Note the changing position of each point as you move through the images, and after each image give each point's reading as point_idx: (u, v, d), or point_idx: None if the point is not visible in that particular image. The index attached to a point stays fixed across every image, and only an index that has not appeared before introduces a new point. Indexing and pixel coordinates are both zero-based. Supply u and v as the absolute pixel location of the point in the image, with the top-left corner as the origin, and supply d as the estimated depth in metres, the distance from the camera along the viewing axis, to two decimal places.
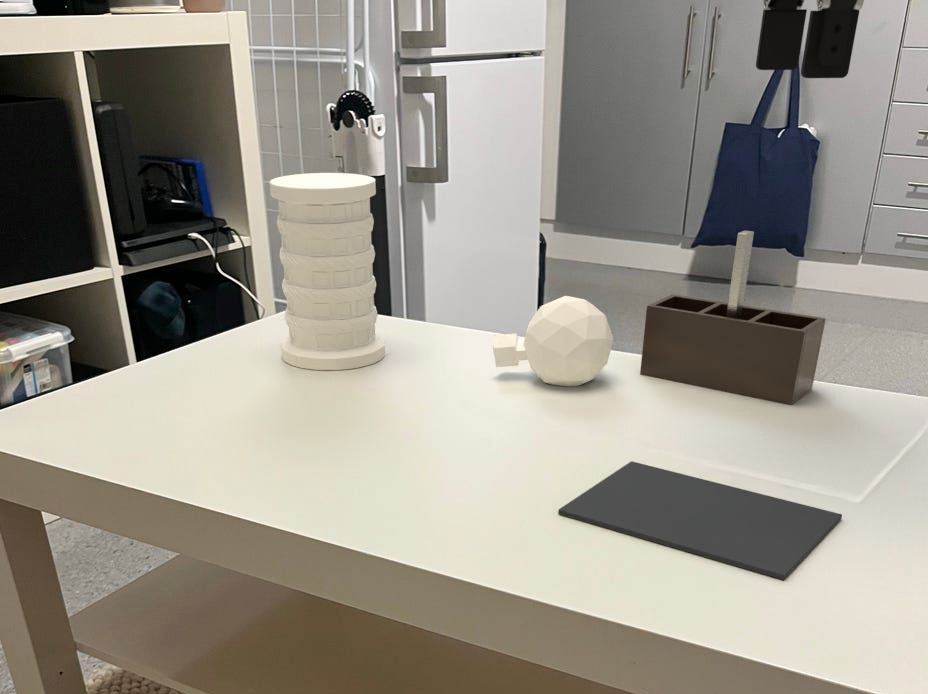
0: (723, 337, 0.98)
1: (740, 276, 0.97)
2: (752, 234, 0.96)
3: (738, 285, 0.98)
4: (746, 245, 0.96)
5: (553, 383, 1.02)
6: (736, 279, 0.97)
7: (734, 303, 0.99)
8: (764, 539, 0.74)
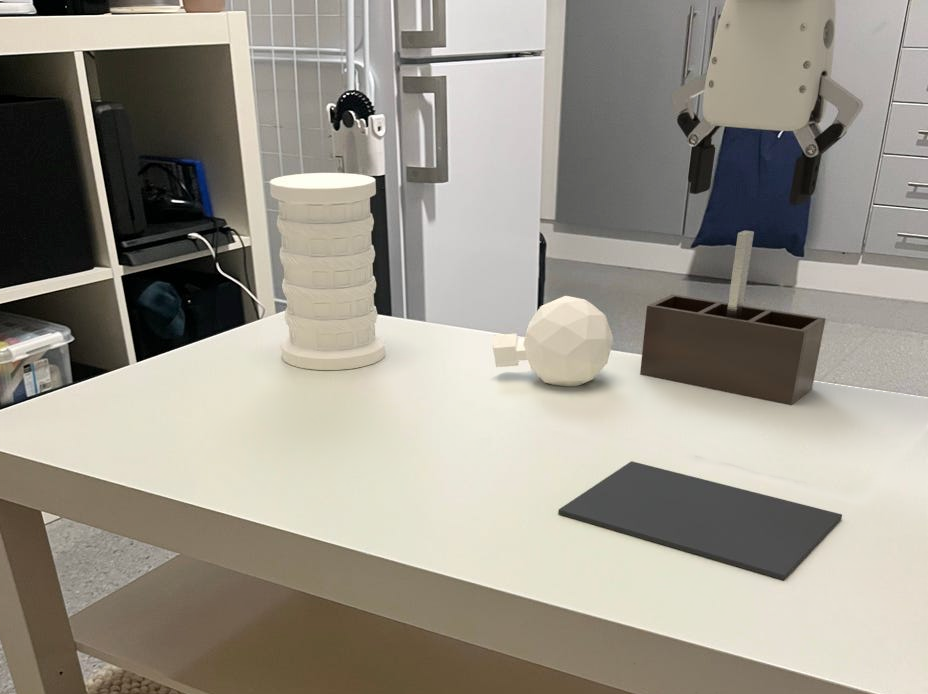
0: (723, 337, 0.98)
1: (740, 276, 0.97)
2: (752, 234, 0.96)
3: (738, 285, 0.98)
4: (746, 245, 0.96)
5: (553, 383, 1.02)
6: (736, 279, 0.97)
7: (734, 303, 0.99)
8: (764, 539, 0.74)
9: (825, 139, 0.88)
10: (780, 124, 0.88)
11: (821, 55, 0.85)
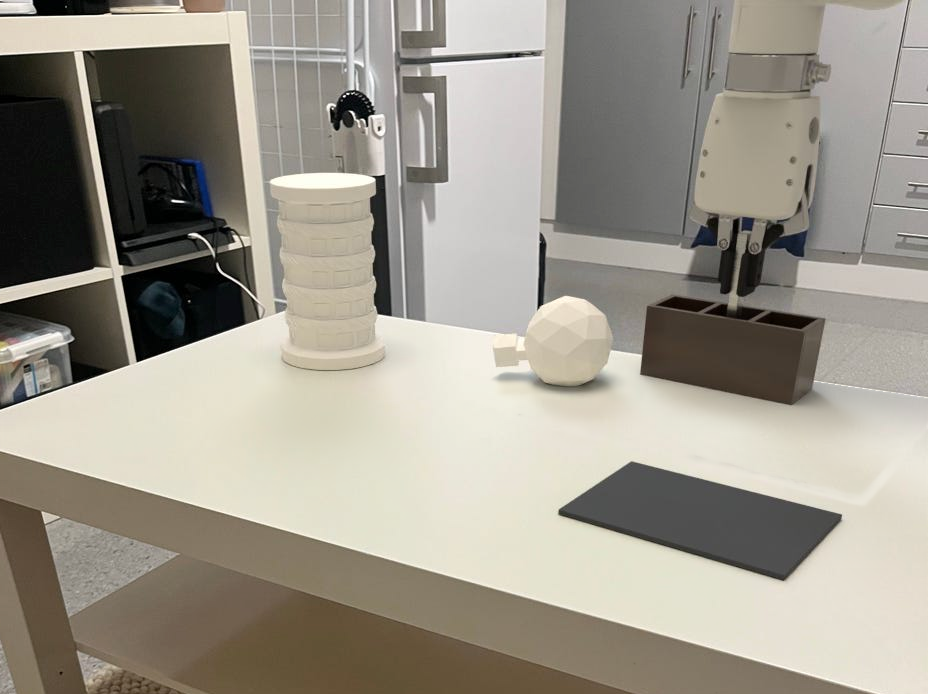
0: (723, 337, 0.98)
1: None
2: None
3: None
4: (746, 245, 0.96)
5: (553, 383, 1.02)
6: (736, 279, 0.97)
7: (734, 303, 0.99)
8: (764, 539, 0.74)
9: (767, 238, 0.94)
10: (769, 214, 0.92)
11: (807, 151, 0.89)
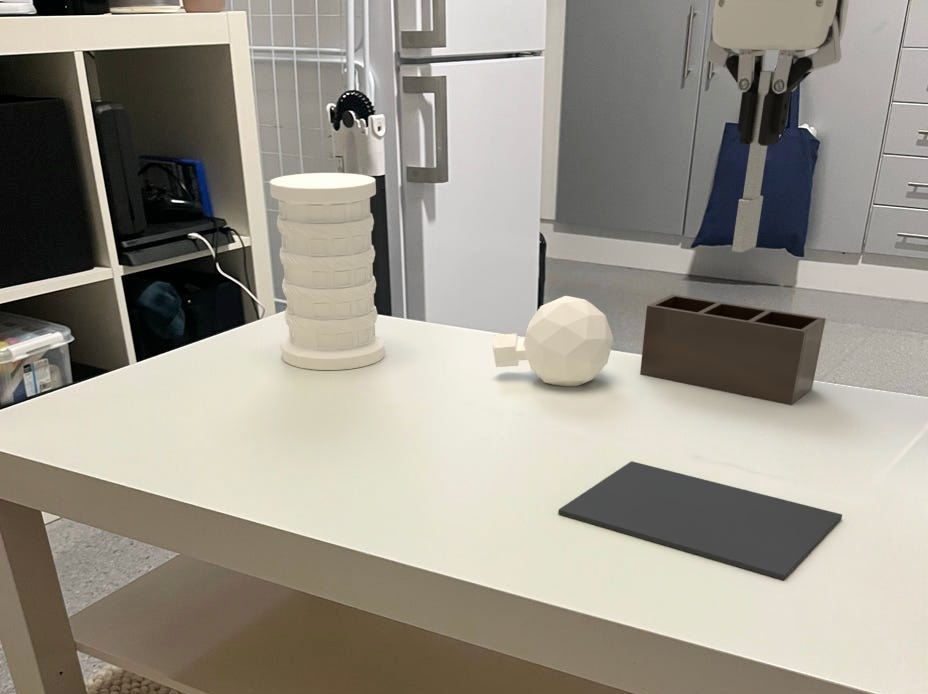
0: (723, 337, 0.98)
1: None
2: None
3: None
4: (769, 85, 0.86)
5: (553, 383, 1.02)
6: (758, 126, 0.88)
7: (755, 154, 0.89)
8: (764, 539, 0.74)
9: (793, 74, 0.84)
10: (796, 43, 0.82)
11: None
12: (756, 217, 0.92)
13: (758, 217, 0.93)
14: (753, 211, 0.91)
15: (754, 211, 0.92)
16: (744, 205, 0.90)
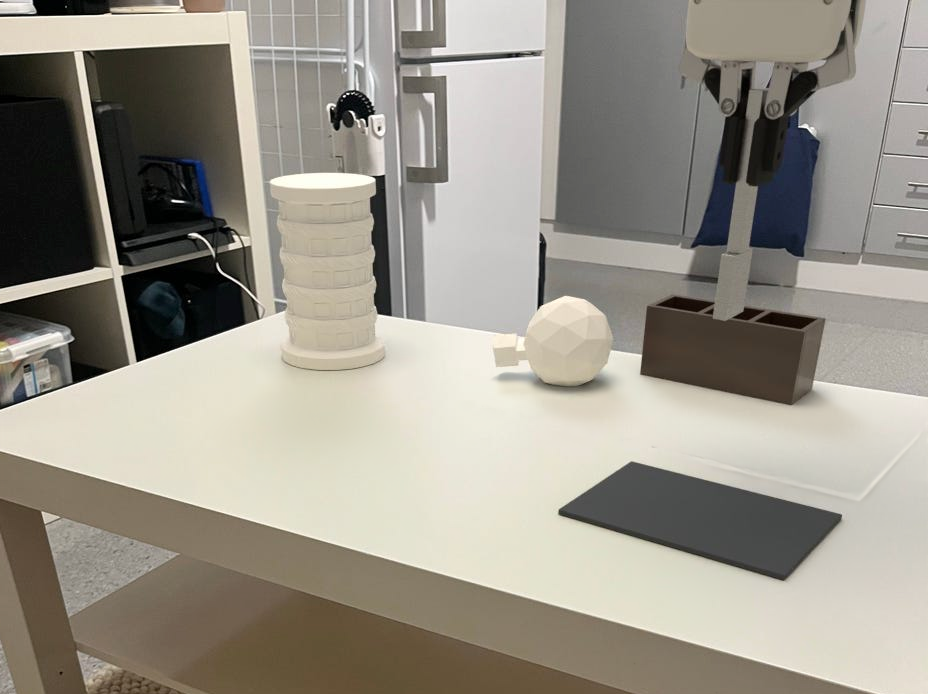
0: (723, 337, 0.98)
1: None
2: None
3: None
4: (761, 108, 0.65)
5: (553, 383, 1.02)
6: (746, 161, 0.67)
7: (743, 197, 0.68)
8: (764, 539, 0.74)
9: (792, 94, 0.64)
10: (796, 53, 0.62)
11: None
12: (744, 275, 0.72)
13: (746, 275, 0.72)
14: (739, 268, 0.71)
15: (741, 268, 0.71)
16: (728, 262, 0.70)
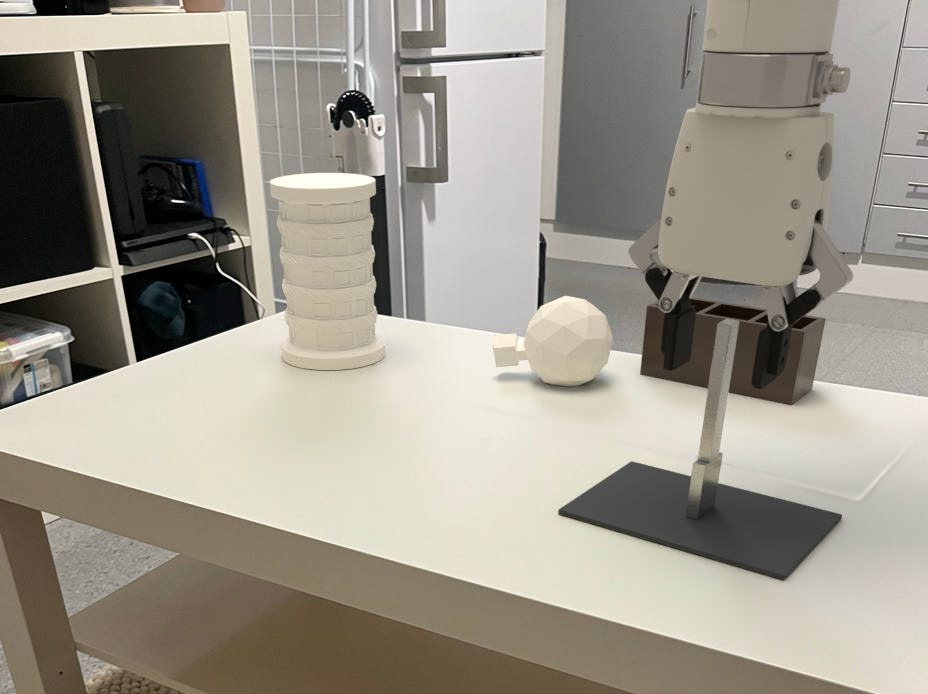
0: None
1: (721, 380, 0.71)
2: (737, 325, 0.70)
3: (718, 391, 0.72)
4: (728, 340, 0.70)
5: (553, 383, 1.02)
6: (715, 384, 0.72)
7: (712, 414, 0.73)
8: (764, 539, 0.74)
9: (796, 309, 0.66)
10: (761, 278, 0.65)
11: (815, 191, 0.62)
12: (714, 478, 0.76)
13: (717, 476, 0.77)
14: (710, 473, 0.75)
15: (711, 473, 0.76)
16: (699, 470, 0.74)
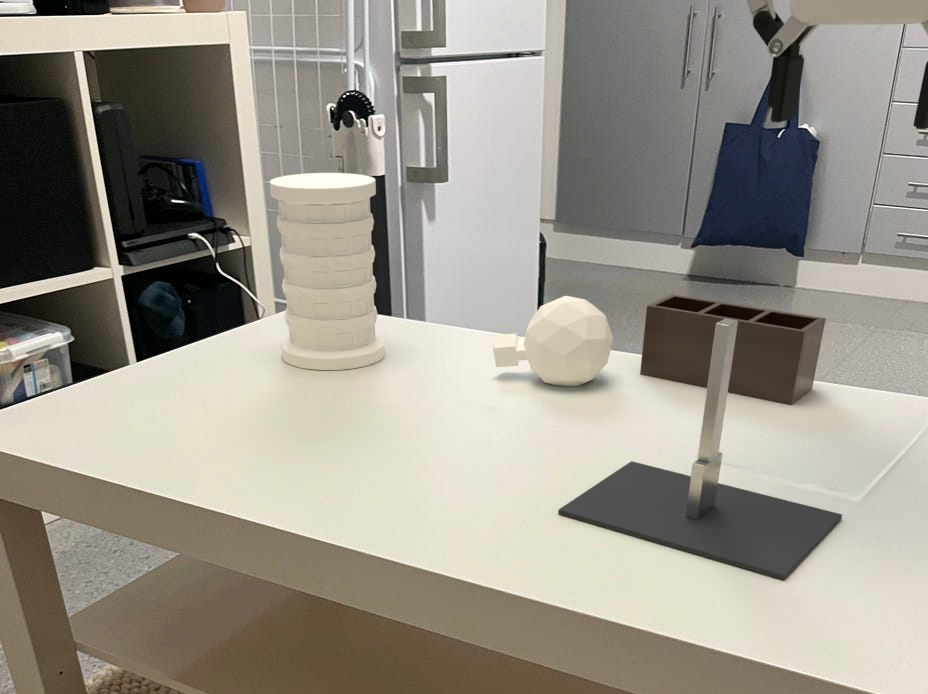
0: None
1: (720, 380, 0.71)
2: (735, 324, 0.70)
3: (717, 391, 0.72)
4: (727, 340, 0.70)
5: (553, 383, 1.02)
6: (714, 383, 0.72)
7: (712, 414, 0.73)
8: (764, 539, 0.74)
9: None
10: (904, 15, 0.64)
11: None
12: (714, 477, 0.76)
13: (717, 476, 0.77)
14: (710, 473, 0.75)
15: (711, 473, 0.76)
16: (699, 470, 0.74)
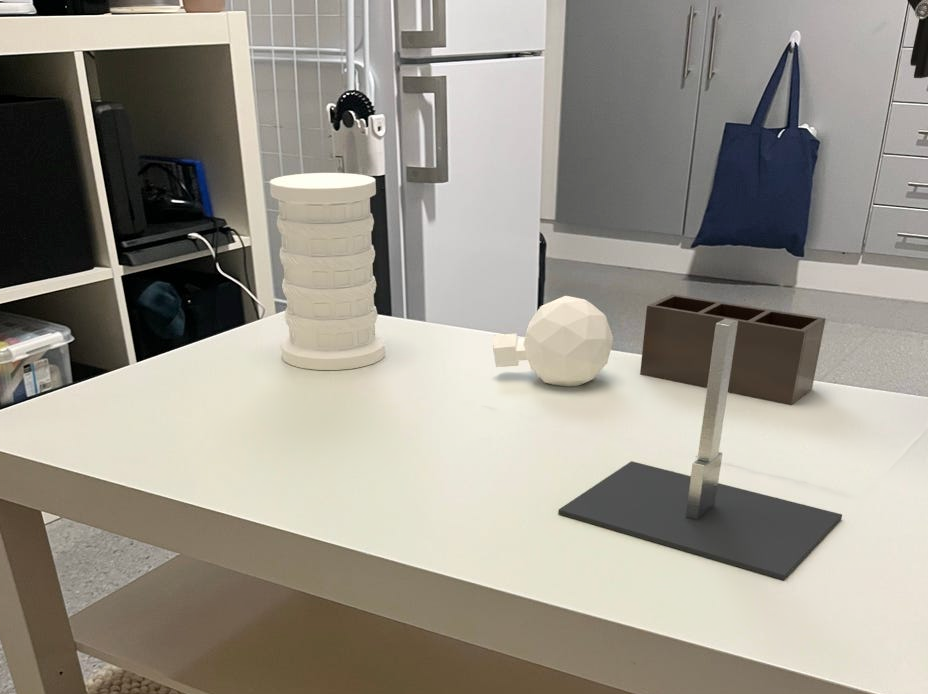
0: None
1: (720, 380, 0.71)
2: (735, 324, 0.70)
3: (717, 391, 0.72)
4: (727, 340, 0.70)
5: (553, 383, 1.02)
6: (714, 383, 0.72)
7: (712, 414, 0.73)
8: (764, 539, 0.74)
9: None
10: None
11: None
12: (714, 477, 0.76)
13: (717, 476, 0.77)
14: (710, 473, 0.75)
15: (711, 473, 0.76)
16: (699, 470, 0.74)
